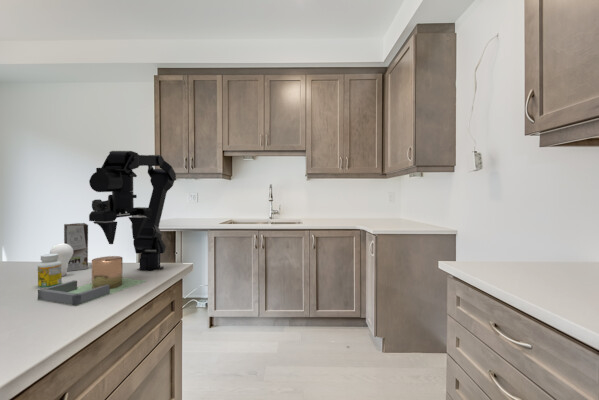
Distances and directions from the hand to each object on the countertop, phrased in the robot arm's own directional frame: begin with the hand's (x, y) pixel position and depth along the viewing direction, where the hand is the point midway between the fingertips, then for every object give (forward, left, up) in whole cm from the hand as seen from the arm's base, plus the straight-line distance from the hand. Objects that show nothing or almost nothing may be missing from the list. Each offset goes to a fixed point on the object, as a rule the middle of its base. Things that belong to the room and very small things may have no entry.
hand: (123, 241), depth 95 cm
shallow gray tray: (+15, +1, -12) cm, 19 cm away
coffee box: (-8, -30, -13) cm, 34 cm away
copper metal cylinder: (+6, 0, -12) cm, 14 cm away
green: (+9, +1, -13) cm, 16 cm away
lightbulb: (+2, -23, -13) cm, 27 cm away
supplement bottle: (+11, -15, -13) cm, 23 cm away
